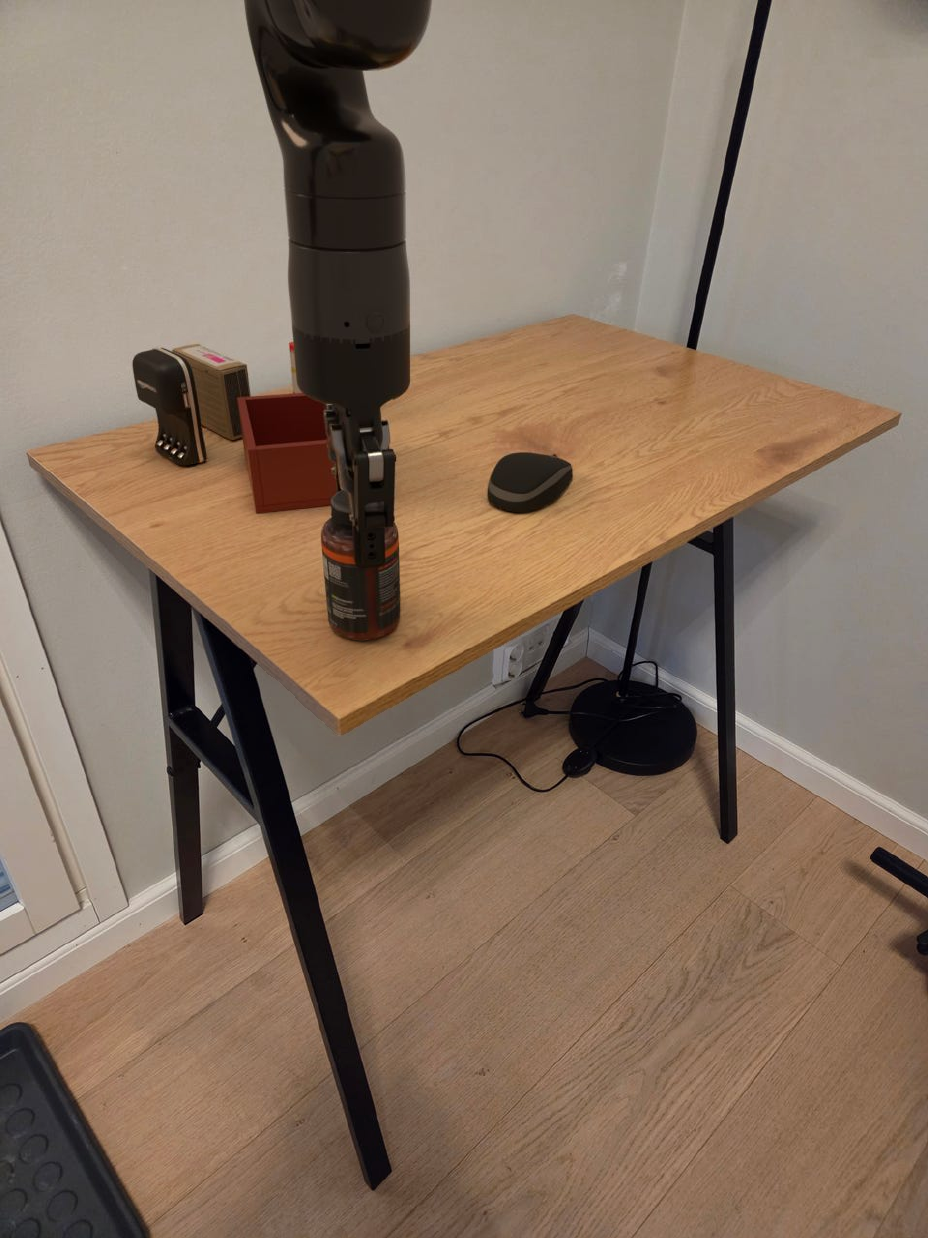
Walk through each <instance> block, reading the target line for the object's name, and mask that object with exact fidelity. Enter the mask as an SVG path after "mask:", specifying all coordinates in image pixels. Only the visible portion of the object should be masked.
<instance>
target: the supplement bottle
mask: <svg viewBox="0 0 928 1238" xmlns="http://www.w3.org/2000/svg"><path fill="white" fill-rule="evenodd" d="M370 506H377V502H375V503H368V504H367V505H366V506H365V507H370ZM349 514H350V506H349V498H348V494H347V492H345V491H343V490H341V491H339V492H337V493H336V494H335V495H334V496H333V497H332V498H331V505H330V516H331V517H329V518H328V519H327V520H326V521H325V523H323V526H322V528H321V531H320V545H321V556H322V557H321V558H322V568H323V579H324V590H325V592H324V593H325V601H326V602H325V603H326V612H327V620H328V623H329V627H330V628H331V630H333V631H334V632H335V633H336V634H337V635H338V636H340V637H343V638H346V639H349V640H352V641H373V640H376V639H381V638H382V637H385V636H387V635H389V634H391V632H393V631H394V630H395V629H396V628H397V627H398V624H399V623H400V620H401V611H402V610H401V609H402V607H401V605H402V604H401V568H400V565H401V564H400V563H401V562H400V538H399V537H400V536H399V529H398V526H397V525H396V522H395V521H394V526H393V527H388V528H386V527H385V563H384V564H383V565H382V566H380V567H374V568H366V569H359V568H357V567H356V565H355V562H354V554H353V535H352V521H350V518H349Z"/></svg>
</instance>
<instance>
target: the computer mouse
mask: <svg viewBox="0 0 928 1238" xmlns="http://www.w3.org/2000/svg"><path fill="white" fill-rule="evenodd" d="M572 465H573V464H572V463H570V462H569V461H567V460H564V459H563V458H560V457H558V456H557V454H556V453H553V454H551V455H548V454H543V453H536V452H531V451H530V452H528V451H521V452H512V453H509V454H506V455H504V456H503V457H501V458H500V459H499V460H498V461H497V462H496V463H495V466H494V467H493V470H492V472H491V474H490V476H489V479H488V485H487V500H488V502H489V503H490V504H491V505H493V506H495V507H497V508H499V509H501V510H505V511H508V512H513V513H526V512H527V513H529V512H532V511H536V510H539V509H541V508H543V507H545V506H548V505H550V504H551V503H553V502H554V501H556V500H557V499H558V498H559V497H561V495H563V494H564V492H565V491H566V490H567V488H568V487H569V486H570V484H571V482H572V480H573V477H574V476H573V474H574V473H573V471H574V470H573V466H572Z"/></svg>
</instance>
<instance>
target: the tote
mask: <svg viewBox="0 0 928 1238" xmlns="http://www.w3.org/2000/svg"><path fill="white" fill-rule="evenodd" d="M237 402H238V409H239V416H240V424H241V431H242V437H241V438H242V446H243V453H244V459H245V463H246V469H247V474H248V479H249V483H250V489H251V494H252V499H253V503H254V509H255V513H256V514H263V513H270V512H271V513H272V512H281V511H291V510H298V509H299V510H300V509H307V508H308V509H309V508H318V507H326V506H327V507H328V506H331V498H332V497H333V496H334V495H335V494H336V493H337V489H336V479H339V478H334V475H333V474H332V471H331V467H332V461H330V460H329V456H328V455H327V447H326V431H325V426H324V422H323V410H325V409H324V403H321V402H318V401H315V400H313V399H311V398H309V397H307V396H306V395H305V394H303V393H294V394H293V393H281V394H268V395H255V396H254V395H253V396H252V395H251V397H237ZM388 449H390V444H389V445H388Z"/></svg>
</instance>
